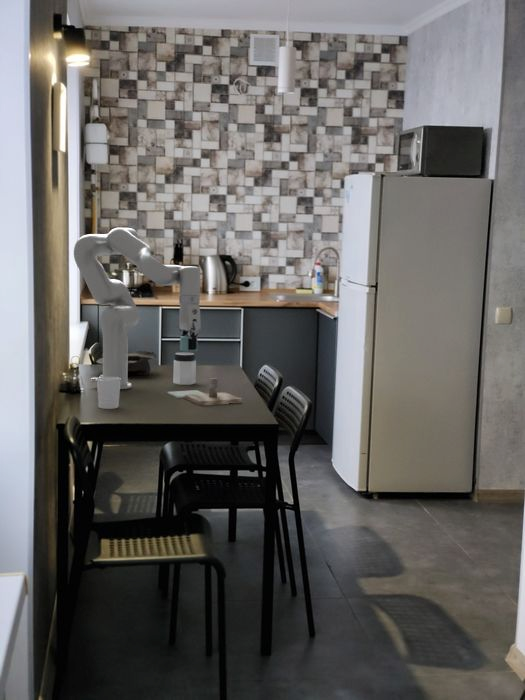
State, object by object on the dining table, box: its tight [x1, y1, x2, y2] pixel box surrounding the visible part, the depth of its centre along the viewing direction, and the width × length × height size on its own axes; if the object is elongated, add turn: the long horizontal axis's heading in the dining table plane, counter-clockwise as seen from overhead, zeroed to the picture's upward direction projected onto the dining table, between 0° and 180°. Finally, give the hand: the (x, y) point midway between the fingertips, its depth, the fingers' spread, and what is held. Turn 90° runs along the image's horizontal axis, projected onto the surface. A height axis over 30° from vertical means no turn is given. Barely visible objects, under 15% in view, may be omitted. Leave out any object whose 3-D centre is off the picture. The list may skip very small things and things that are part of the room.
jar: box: [172, 351, 197, 386], centre depth 369 cm, size 9×8×12 cm
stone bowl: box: [96, 350, 158, 376], centre depth 389 cm, size 25×25×9 cm
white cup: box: [96, 376, 121, 410], centre depth 316 cm, size 8×8×10 cm
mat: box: [167, 389, 205, 399], centre depth 344 cm, size 12×10×1 cm
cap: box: [179, 335, 198, 352], centre depth 342 cm, size 6×6×6 cm
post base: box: [184, 377, 243, 407], centre depth 334 cm, size 16×14×8 cm
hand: (188, 348), depth 342 cm, fingers closed on cap, 6 cm apart
